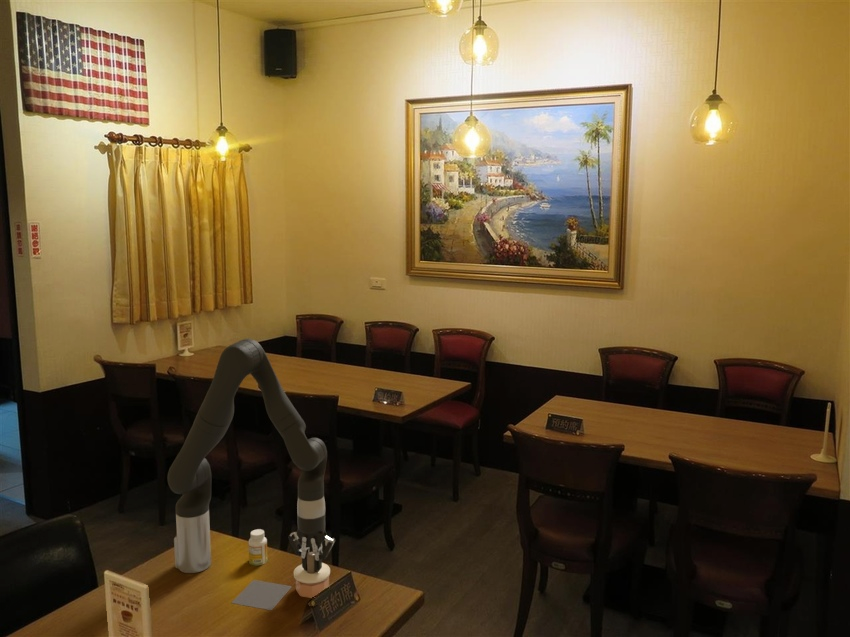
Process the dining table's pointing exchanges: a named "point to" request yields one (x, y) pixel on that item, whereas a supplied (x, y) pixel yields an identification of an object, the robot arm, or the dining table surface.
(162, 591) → the dining table surface
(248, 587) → the mat
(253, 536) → the supplement bottle
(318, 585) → the bowl
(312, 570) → the lid
